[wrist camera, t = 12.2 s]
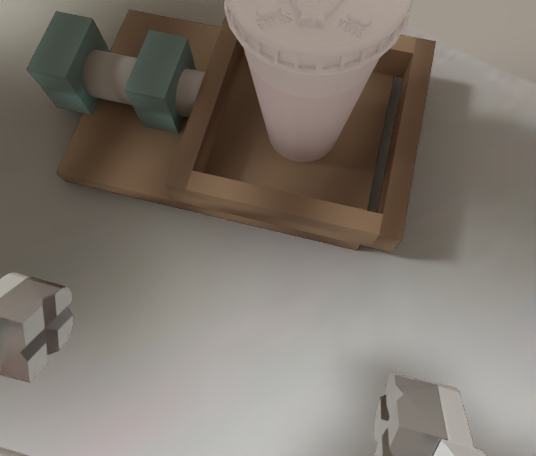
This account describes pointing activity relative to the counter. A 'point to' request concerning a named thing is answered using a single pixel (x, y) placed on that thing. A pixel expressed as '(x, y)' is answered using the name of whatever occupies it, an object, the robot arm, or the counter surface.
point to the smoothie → (312, 63)
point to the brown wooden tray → (226, 129)
